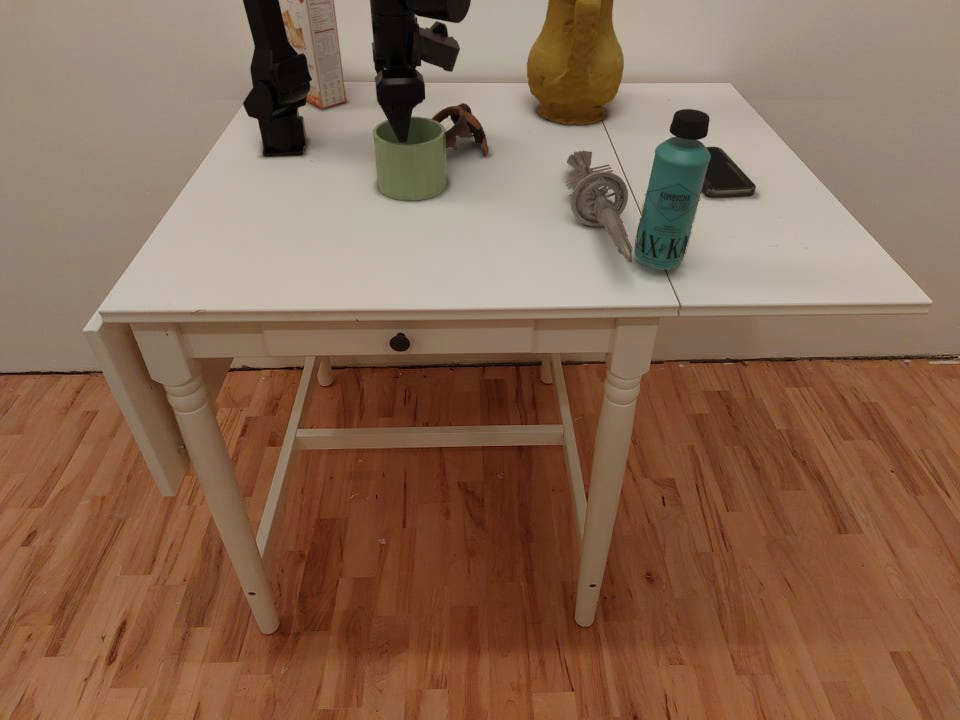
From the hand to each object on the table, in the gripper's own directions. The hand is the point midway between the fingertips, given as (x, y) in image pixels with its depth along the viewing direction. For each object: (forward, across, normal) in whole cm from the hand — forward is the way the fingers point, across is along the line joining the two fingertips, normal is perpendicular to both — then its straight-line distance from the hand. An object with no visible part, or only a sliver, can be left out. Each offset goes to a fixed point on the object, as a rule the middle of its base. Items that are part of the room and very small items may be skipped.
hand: (401, 128), depth 96 cm
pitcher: (+9, +24, -32) cm, 41 cm away
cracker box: (+9, +39, +15) cm, 42 cm away
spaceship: (+9, -16, -26) cm, 32 cm away
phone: (+9, -2, -49) cm, 50 cm away
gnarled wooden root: (+9, +12, -10) cm, 18 cm away
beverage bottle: (+9, -26, -31) cm, 42 cm away
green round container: (+9, 0, -1) cm, 9 cm away
